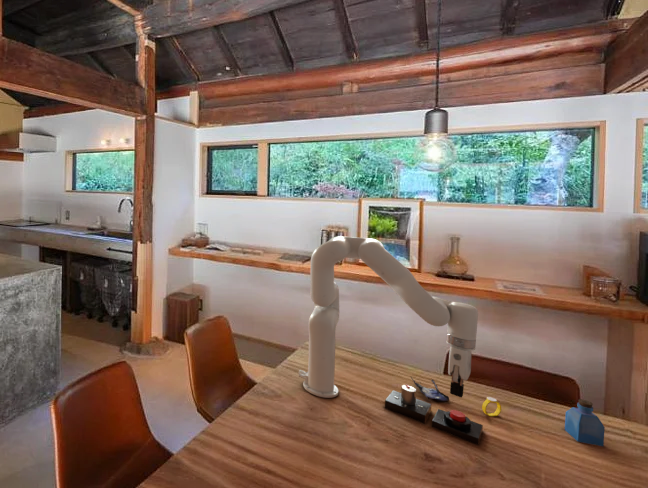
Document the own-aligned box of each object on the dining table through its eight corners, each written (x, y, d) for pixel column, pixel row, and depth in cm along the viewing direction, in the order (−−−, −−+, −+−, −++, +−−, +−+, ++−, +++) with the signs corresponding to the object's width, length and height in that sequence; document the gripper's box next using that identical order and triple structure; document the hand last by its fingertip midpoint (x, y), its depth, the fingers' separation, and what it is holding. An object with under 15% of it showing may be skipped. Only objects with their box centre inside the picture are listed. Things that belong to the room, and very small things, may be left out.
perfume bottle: (588, 434, 128) (590, 398, 128) (603, 446, 123) (605, 409, 122) (564, 429, 130) (566, 394, 130) (577, 441, 125) (580, 405, 124)
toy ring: (495, 413, 139) (496, 396, 139) (503, 417, 136) (504, 401, 136) (479, 413, 139) (480, 396, 139) (486, 418, 136) (487, 401, 136)
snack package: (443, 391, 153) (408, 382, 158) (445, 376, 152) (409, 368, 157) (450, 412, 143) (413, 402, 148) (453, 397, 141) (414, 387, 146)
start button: (448, 418, 130) (449, 413, 130) (451, 413, 132) (451, 408, 132) (464, 424, 127) (464, 418, 127) (466, 418, 129) (466, 413, 129)
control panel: (384, 408, 141) (385, 399, 141) (392, 397, 148) (393, 389, 147) (424, 424, 132) (425, 414, 132) (431, 412, 139) (431, 403, 139)
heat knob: (417, 406, 137) (418, 391, 137) (403, 404, 138) (403, 389, 138) (412, 399, 141) (413, 385, 141) (399, 397, 142) (399, 383, 142)
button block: (431, 426, 131) (432, 415, 130) (438, 414, 137) (438, 403, 137) (478, 445, 122) (478, 432, 122) (482, 431, 129) (483, 419, 129)
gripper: (472, 351, 121) (467, 409, 122) (478, 338, 131) (474, 391, 132) (442, 343, 126) (437, 398, 127) (450, 331, 137) (446, 382, 137)
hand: (456, 394), depth 130 cm, fingers closed
